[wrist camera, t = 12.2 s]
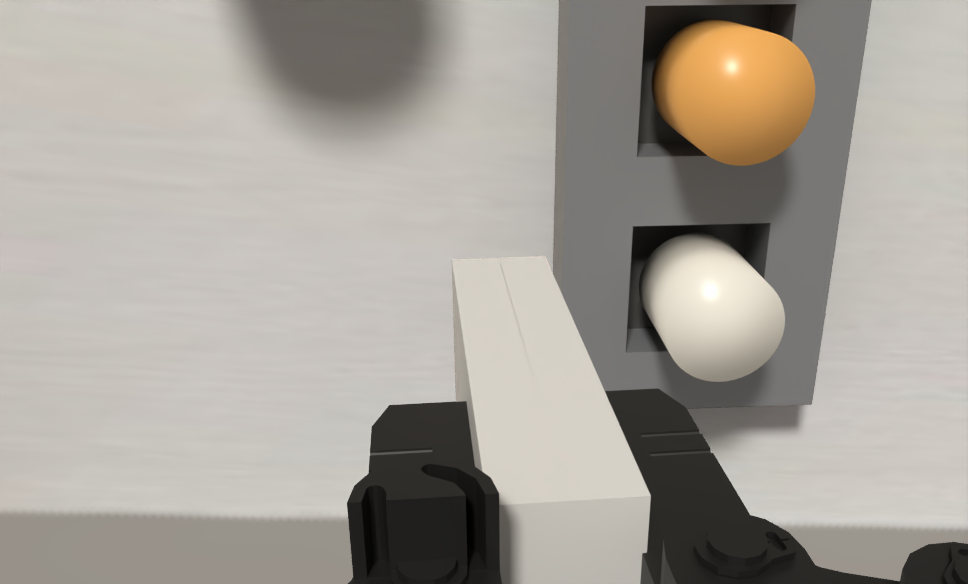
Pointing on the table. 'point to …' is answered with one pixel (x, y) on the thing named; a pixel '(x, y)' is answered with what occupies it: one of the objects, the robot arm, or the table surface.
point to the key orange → (733, 90)
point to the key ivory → (710, 307)
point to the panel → (695, 188)
